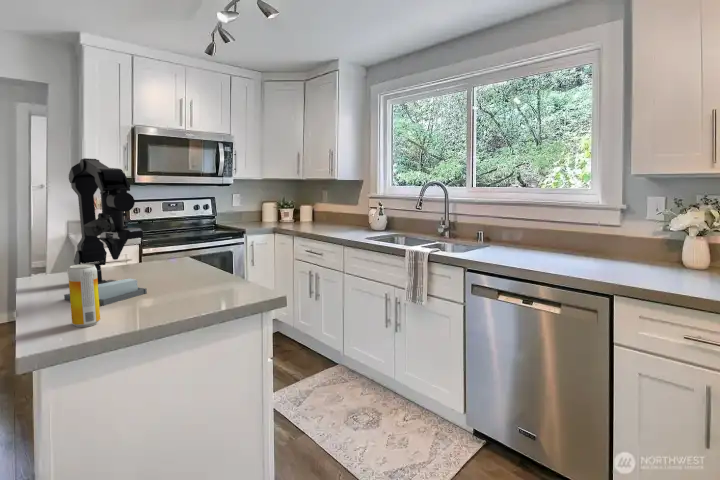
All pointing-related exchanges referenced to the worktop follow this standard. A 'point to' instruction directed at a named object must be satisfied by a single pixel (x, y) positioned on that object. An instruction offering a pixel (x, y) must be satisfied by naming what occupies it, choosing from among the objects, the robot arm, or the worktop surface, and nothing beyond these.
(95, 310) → the beer can
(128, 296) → the rack
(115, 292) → the panel
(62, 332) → the worktop surface
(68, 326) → the worktop surface
